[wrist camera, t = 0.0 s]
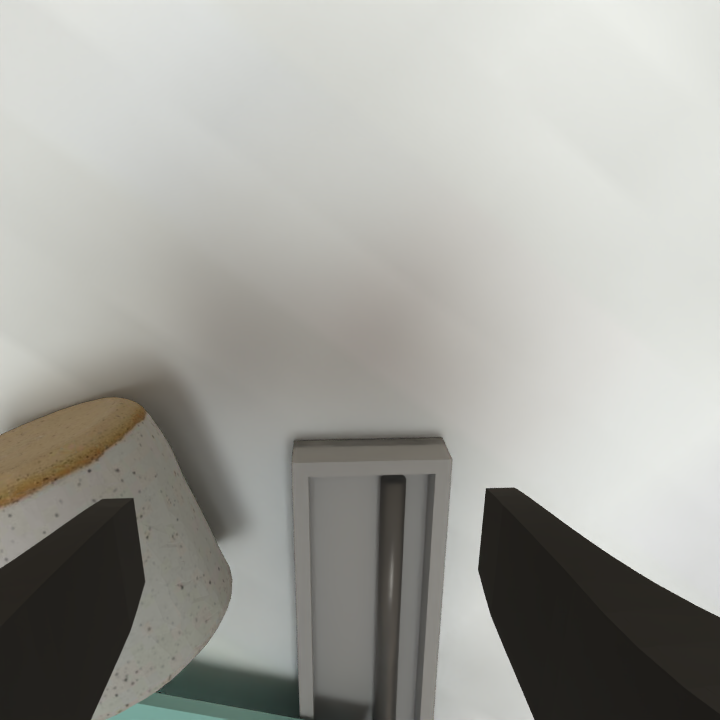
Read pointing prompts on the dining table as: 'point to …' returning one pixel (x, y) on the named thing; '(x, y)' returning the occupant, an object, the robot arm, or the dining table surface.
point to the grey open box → (369, 575)
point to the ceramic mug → (154, 520)
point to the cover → (189, 710)
